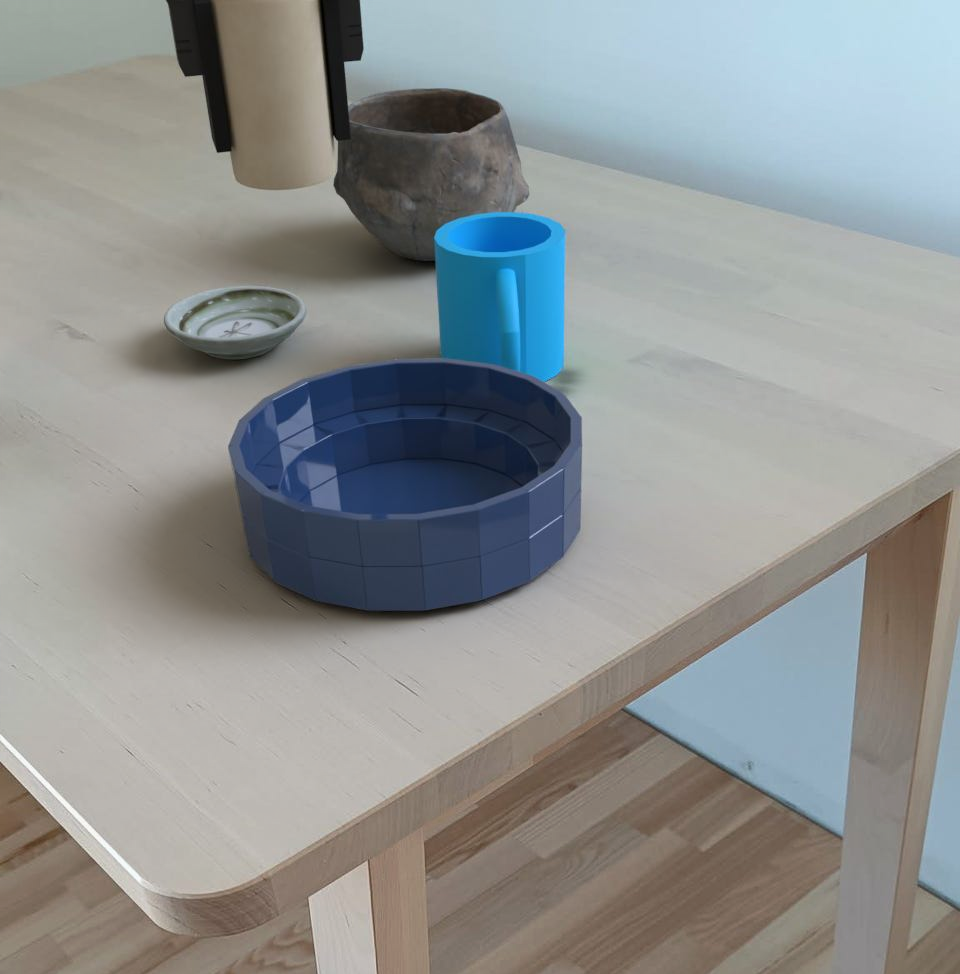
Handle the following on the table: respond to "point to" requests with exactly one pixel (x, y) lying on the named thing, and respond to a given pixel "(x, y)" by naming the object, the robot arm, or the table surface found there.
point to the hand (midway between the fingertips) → (280, 137)
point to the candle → (275, 91)
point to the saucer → (235, 320)
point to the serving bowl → (409, 482)
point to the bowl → (426, 164)
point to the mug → (502, 291)
